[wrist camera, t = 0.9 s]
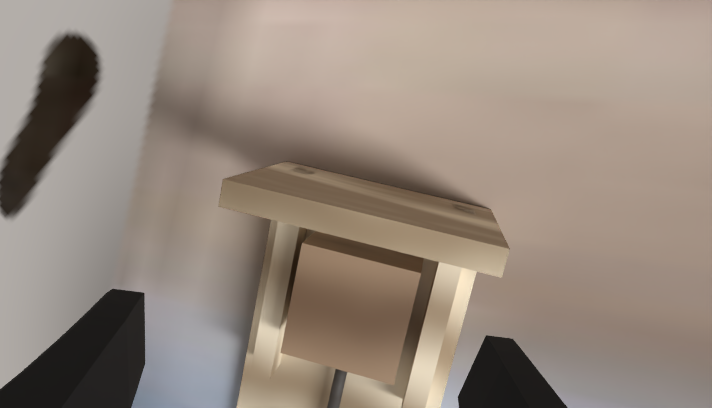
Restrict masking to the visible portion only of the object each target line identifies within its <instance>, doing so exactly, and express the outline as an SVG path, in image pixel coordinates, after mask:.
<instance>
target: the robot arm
mask: <svg viewBox="0 0 712 408" xmlns="http://www.w3.org/2000/svg"><path fill="white" fill-rule="evenodd" d="M144 365H145V312H144V293H141V292H133V291H125V290H117V289H112V290H110V291H109V292H107V293H106V294H105V295H104V296H103V297H102V298H101V299H100V300H99V301H98V302H97V303H96V304H95V305H94V306H93V307H92V308H91V309H90V310H89V311H88V312H87V313H86V314H85V315H84V316H83V317H82V318H80V319H79V320H78V321H77V323H75V324H74V325H73V326H72V327H71V328H70V329H69V330H68V331H67V332H66V333H65V334H63V335H62V336H61V337H60V338H59V339H58V340H57V341H56V342H55V343H54V344H52V345H51V346H50V347H49V348H48V349H47V350H46V351H45V352H43V353H42V354H41V355H40V356H39V357H38V358H37V359H36V360H34V361H33V362H32V363H31V364H30V365H29V366H28V367H27V368H25V369H24V370H23V371H22V372H21V373H20V374H18V375H17V376H16V377H15V378H13V379H12V380H11V381H10V382H8V383H7V384H6V385H5V386H4V387H3V388H1V389H0V408H131V406H132V403H133V400H134V397H135V394H136V391H137V388H138V385H139V381H140V378H141V375H142V372H143V368H144ZM458 402H459V408H567V406H566V405H565V404H564V403H563V402H562V400H561V399H560V398H559V397H558V395H557V394H556V393H555V392H554V390H553V389H552V388H551V386H550V385H549V384H548V383H547V381H546V380H545V379H544V378H543V376H542V375H541V374H540V373H539V371H538V370H537V369H536V367H535V366H534V365H533V364H532V362H531V361H530V360H529V359H528V357H527V356H526V355H525V353H524V352H523V351H522V350H521V348H520V347H519V346H518V345H517V344H516V342H515V341H514V340H513V339H510V338H502V337H494V336H486V337H485V339H484V341H483V343H482V345H481V348H480V350H479V352H478V354H477V356H476V359H475V361H474V363H473V365H472V367H471V370H470V372H469V374H468V376H467V378H466V380H465V383H464V385H463V387H462V389H461V391H460V394H459V396H458Z"/></svg>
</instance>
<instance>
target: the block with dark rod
mask: <svg viewBox="0 0 712 408" xmlns="http://www.w3.org/2000/svg"><path fill="white" fill-rule="evenodd" d="M423 259H424V258H421V257H417V256H413V255H410V254H406V253H402V252H398V251H394V250H390V249H386V248H382V247H378V246H374V245H370V244H366V243H362V242H358V241H354V240H350V239H346V238H342V237H338V236H334V235H330V234H326V233H322V232H318V231H315V232H314V233H313V234H312V235H311V236H309V237H308V238H307V239H306V240H305V241H304V242H303V243H302V246H301V251H300V256H299V261H298V266H297V271H296V276H295V281H294V286H293V291H292V296H291V301H290V306H289V311H288V317H287V322H286V327H285V332H284V337H283V342H282V347H281V352H280V353H282V354H286V355H289V356H293V357H296V358H300V359H303V360H307V361H310V362H314V363H317V364H321V365H324V366H328V367H331V368H335V374H334V378H333V383H332V387H331V392H330V396H329V401H328V405H327V408H339V407H340V402H341V398H342V394H343V389H344V385H345V380H346V376H347V372H349V373H353V374H356V375H360V376H363V377H367V378H370V379H374V380H377V381H381V382H384V383H388V384H391V385H394V382H395V378H396V373H397V369H398V365H399V361H400V357H401V353H402V349H403V345H404V341H405V337H406V333H407V329H408V325H409V321H410V317H411V313H412V309H413V305H414V301H415V297H416V292H417V288H418V284H419V280H420V276H421V272H422V266H423Z"/></svg>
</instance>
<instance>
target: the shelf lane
mask: <svg viewBox="0 0 712 408" xmlns="http://www.w3.org/2000/svg"><path fill="white" fill-rule="evenodd" d="M219 207H223V208H227V209H231V210H235V211H238V212H242V213H246V214H250V215H254V216H258V217H262V218H266V219H270V220H271V223H270V228H269V234H268V239H267V244H266V250H265V255H264V261H263V266H262V272H261V277H260V283H259V288H258V294H257V299H256V304H255V310H254V315H253V321H252V326H251V332H250V337H249V343H248V348H247V354H246V359H245V364H244V370H243V375H242V381H241V386H240V392H239V397H238V403H237V408H327V405H328V401H329V396H330V392H331V387H332V383H333V378H334V374H335V368H331V367H328V366H324V365H321V364H317V363H314V362H310V361H307V360H303V359H300V358H296V357H293V356H289V355H286V354H282V353H280V352H281V347H282V342H283V337H284V332H285V327H286V322H287V317H288V311H289V306H290V301H291V296H292V291H293V286H294V281H295V276H296V271H297V266H298V261H299V256H300V251H301V246H302V243H303V242H304V241H305V240H306V239H307V238H308V237H309V236H311V235H312V234H313V233H314V232H315V231H318V232H322V233H326V234H330V235H334V236H338V237H342V238H346V239H350V240H354V241H358V242H362V243H366V244H370V245H374V246H378V247H382V248H386V249H390V250H394V251H398V252H402V253H406V254H410V255H413V256H417V257H421V258H424V259H423V266H422V272H421V276H420V280H419V284H418V288H417V292H416V297H415V301H414V305H413V309H412V313H411V317H410V321H409V325H408V329H407V333H406V337H405V341H404V345H403V349H402V353H401V357H400V361H399V365H398V369H397V373H396V378H395V382H394V385H391V384H388V383H384V382H381V381H377V380H374V379H370V378H367V377H363V376H360V375H356V374H353V373H349V372H347V376H346V380H345V385H344V389H343V394H342V398H341V402H340V407H339V408H440V406H441V402H442V399H443V395H444V391H445V387H446V384H447V380H448V376H449V372H450V369H451V365H452V361H453V358H454V354H455V350H456V346H457V343H458V339H459V335H460V331H461V328H462V324H463V320H464V317H465V313H466V309H467V305H468V302H469V298H470V294H471V291H472V287H473V283H474V279H475V276H476V272H481V273H485V274H489V275H493V276H497V277H501V278H502V275H503V271H504V268H505V264H506V261H507V257H508V253H509V250H510V248H509V246H508V244H507V242H506V240H505V238H504V236H503V234H502V232H501V230H500V228H499V225H498V223H497V221H496V219H495V217H494V215H493V213H492V211H491V209H487V208H482V207H478V206H474V205H470V204H465V203H461V202H457V201H453V200H448V199H444V198H440V197H436V196H431V195H427V194H423V193H419V192H414V191H410V190H406V189H402V188H397V187H393V186H389V185H385V184H380V183H376V182H372V181H368V180H363V179H359V178H355V177H351V176H346V175H342V174H338V173H334V172H329V171H325V170H321V169H317V168H312V167H308V166H304V165H300V164H295V163H291V162H283V163H279V164H276V165H272V166H268V167H265V168H261V169H258V170H254V171H250V172H247V173H243V174H239V175H236V176H232V177H229V178H225V179H223V182H222V188H221V194H220V200H219Z"/></svg>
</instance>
